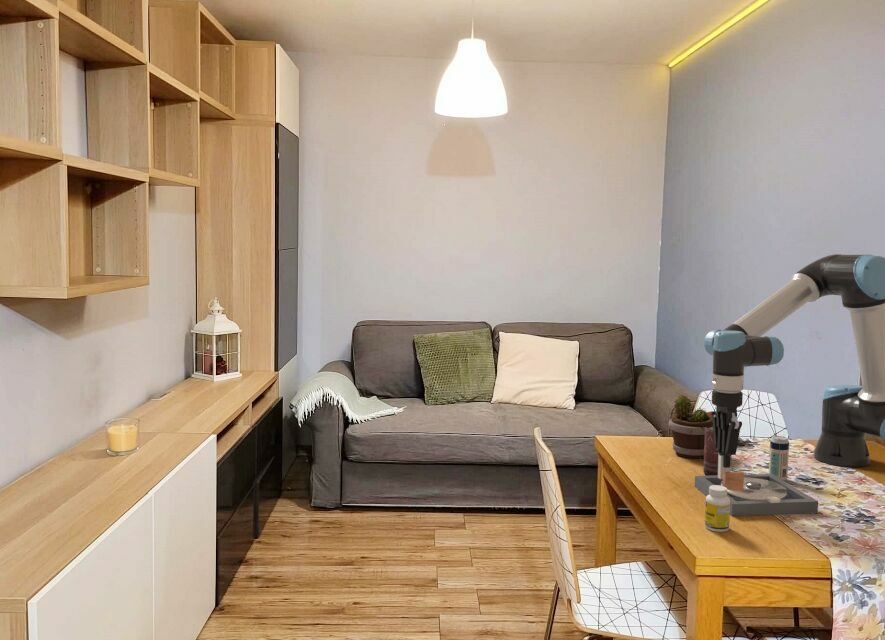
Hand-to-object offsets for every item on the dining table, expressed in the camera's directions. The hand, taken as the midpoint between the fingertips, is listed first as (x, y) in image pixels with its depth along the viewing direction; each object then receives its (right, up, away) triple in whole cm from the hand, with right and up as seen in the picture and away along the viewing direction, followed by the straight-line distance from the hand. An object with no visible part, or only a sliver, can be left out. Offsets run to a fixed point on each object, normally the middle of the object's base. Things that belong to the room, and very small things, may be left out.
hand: (723, 478), depth 197 cm
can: (+4, -3, +18) cm, 18 cm away
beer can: (+20, -3, +14) cm, 25 cm away
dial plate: (+7, -5, -2) cm, 9 cm away
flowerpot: (+4, -1, +39) cm, 39 cm away
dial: (+7, -4, -2) cm, 8 cm away
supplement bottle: (-10, -7, -21) cm, 25 cm away
